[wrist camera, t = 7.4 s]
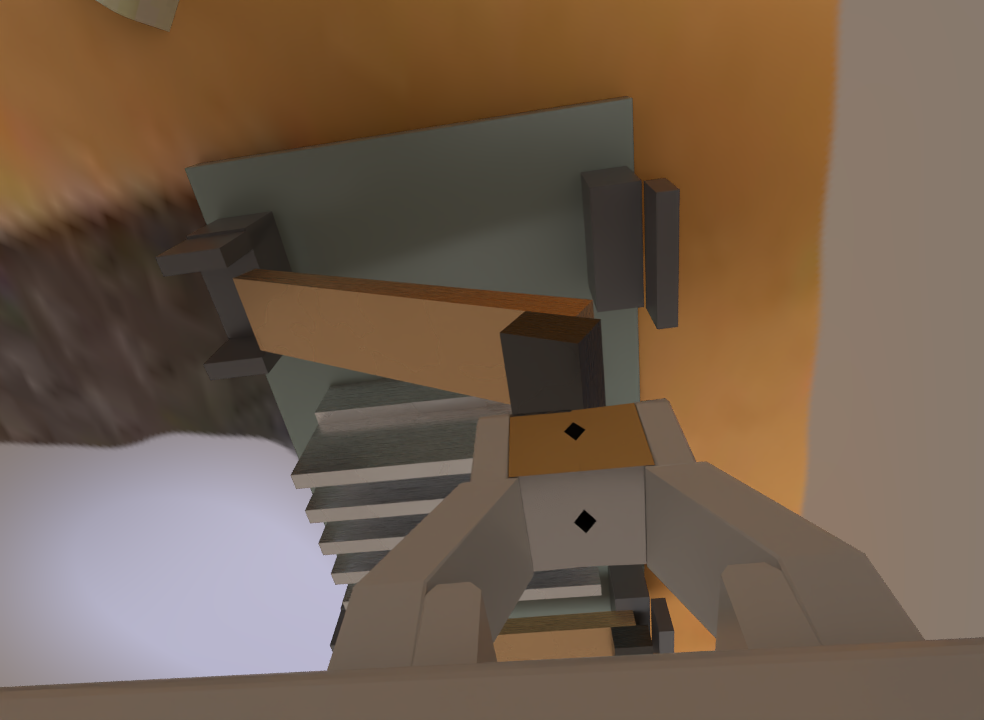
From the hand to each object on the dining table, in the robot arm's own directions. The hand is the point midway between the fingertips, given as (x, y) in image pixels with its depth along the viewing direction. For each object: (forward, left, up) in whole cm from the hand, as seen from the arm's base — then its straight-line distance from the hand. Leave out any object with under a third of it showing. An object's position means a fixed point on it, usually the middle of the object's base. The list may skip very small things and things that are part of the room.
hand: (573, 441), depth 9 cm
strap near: (-4, 0, -6) cm, 7 cm away
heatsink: (-4, -9, -13) cm, 16 cm away
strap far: (-3, -18, -9) cm, 20 cm away
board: (-4, -9, -13) cm, 16 cm away
